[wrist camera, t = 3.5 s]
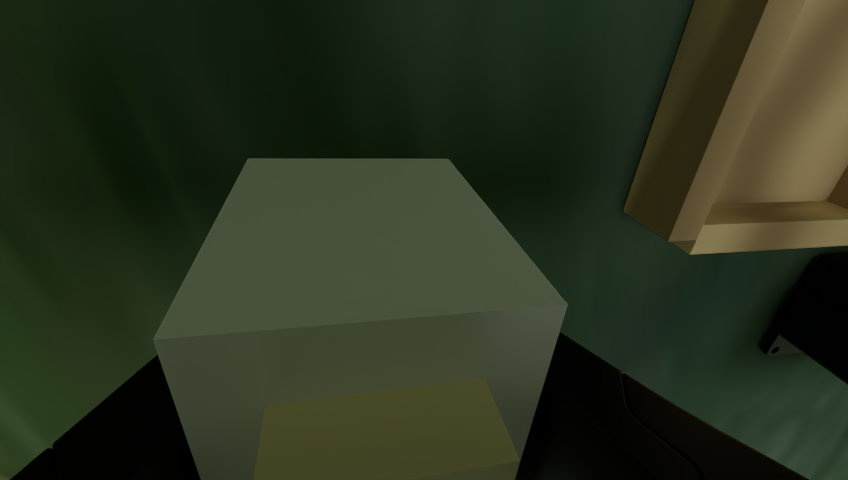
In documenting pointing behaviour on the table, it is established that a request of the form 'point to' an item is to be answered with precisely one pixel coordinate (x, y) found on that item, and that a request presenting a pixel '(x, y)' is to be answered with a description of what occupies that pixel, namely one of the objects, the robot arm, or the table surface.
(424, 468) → the plug block
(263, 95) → the table surface
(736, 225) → the wooden tray
